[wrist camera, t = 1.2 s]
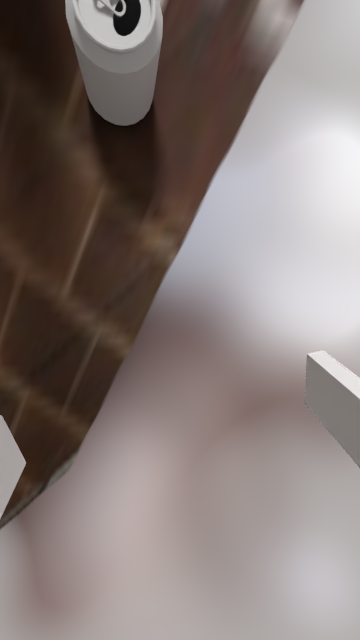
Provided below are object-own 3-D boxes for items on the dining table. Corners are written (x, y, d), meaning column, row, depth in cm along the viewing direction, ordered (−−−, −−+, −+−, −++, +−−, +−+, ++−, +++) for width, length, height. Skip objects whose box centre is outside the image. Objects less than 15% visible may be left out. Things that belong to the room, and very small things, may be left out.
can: (134, 142, 32) (136, 82, 21) (74, 101, 30) (41, 9, 19) (164, 82, 31) (183, -15, 20) (104, 35, 29) (88, -103, 18)
